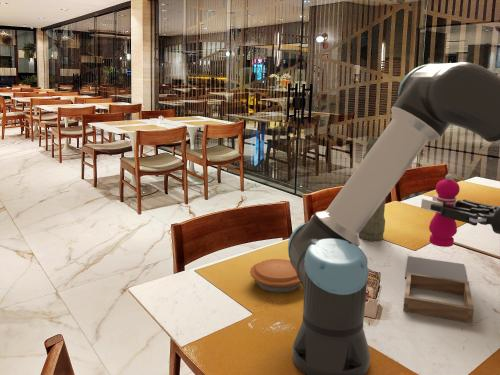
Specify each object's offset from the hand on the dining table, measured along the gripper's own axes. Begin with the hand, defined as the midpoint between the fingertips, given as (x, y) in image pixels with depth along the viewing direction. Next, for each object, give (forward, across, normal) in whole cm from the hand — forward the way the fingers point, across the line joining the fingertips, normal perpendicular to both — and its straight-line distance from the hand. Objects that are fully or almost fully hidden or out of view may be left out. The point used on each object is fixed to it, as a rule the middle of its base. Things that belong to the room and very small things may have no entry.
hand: (427, 201), depth 128 cm
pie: (+18, -41, -20) cm, 49 cm away
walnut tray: (-14, -16, -20) cm, 30 cm away
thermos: (+25, +8, -20) cm, 33 cm away
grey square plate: (-5, 0, -20) cm, 21 cm away
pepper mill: (-5, 0, -11) cm, 12 cm away
